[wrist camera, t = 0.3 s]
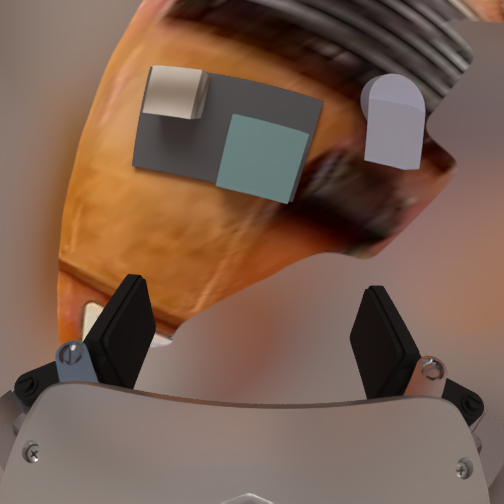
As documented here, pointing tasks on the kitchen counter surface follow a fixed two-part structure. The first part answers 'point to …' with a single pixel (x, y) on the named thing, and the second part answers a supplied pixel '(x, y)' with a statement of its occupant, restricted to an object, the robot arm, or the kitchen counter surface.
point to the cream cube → (177, 92)
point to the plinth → (261, 158)
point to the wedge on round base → (393, 121)
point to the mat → (219, 127)
